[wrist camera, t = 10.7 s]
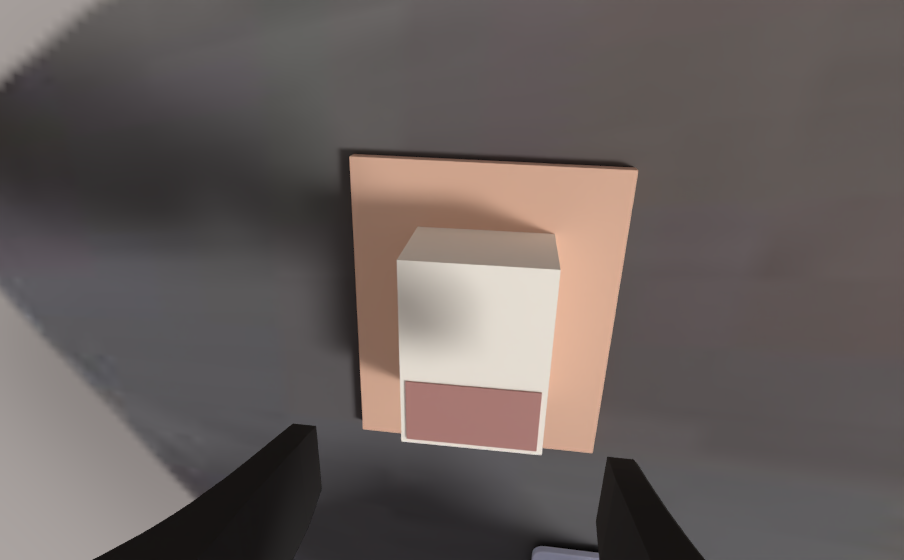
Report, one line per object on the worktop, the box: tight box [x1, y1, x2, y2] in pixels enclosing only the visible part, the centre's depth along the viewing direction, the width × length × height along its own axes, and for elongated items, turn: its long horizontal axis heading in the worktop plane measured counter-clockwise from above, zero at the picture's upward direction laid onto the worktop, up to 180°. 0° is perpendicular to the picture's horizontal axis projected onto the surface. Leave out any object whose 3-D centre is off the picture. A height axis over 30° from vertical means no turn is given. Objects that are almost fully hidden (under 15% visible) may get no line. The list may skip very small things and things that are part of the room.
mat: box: [349, 154, 638, 453], centre depth 21 cm, size 12×10×1 cm
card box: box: [397, 227, 561, 455], centre depth 19 cm, size 5×7×4 cm
